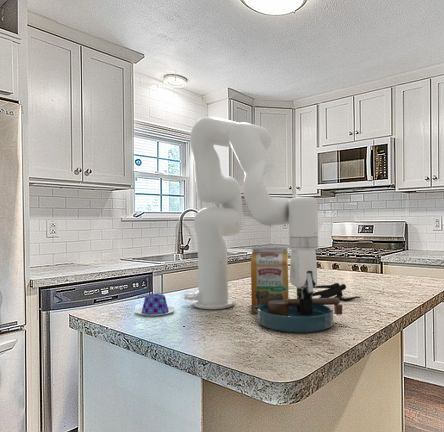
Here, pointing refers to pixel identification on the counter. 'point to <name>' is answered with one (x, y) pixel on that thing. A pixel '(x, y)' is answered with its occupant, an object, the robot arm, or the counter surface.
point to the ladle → (283, 306)
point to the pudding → (155, 306)
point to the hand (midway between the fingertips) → (304, 312)
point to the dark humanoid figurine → (333, 292)
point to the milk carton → (268, 275)
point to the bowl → (297, 319)
